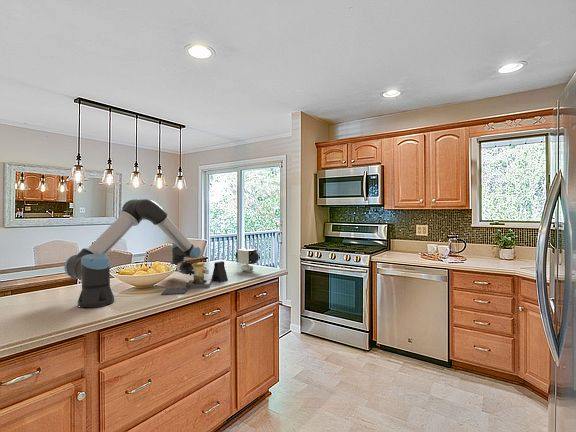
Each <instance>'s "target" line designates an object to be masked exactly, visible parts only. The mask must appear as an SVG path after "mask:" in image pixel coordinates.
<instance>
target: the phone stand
mask: <svg viewBox="0 0 576 432" xmlns="http://www.w3.org/2000/svg"><path fill="white" fill-rule="evenodd" d="M213 265H214V267H213V272H212V275H211V279H212V282H217V283H223V282H227V281H229V278H228V274H227V271H226V267H225V261H224V260H223V261H216V262H214V264H213Z"/></svg>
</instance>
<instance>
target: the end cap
mask: <svg viewBox="0 0 576 432" xmlns="http://www.w3.org/2000/svg"><path fill="white" fill-rule="evenodd" d="M192 265H193V270H196V271H198V276H196V275H193V280H194V284H195V283H204V279H205V273H204V267H205V262H203V261H200V262H193V263H192Z"/></svg>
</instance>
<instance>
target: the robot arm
mask: <svg viewBox="0 0 576 432" xmlns="http://www.w3.org/2000/svg"><path fill="white" fill-rule="evenodd" d="M144 220H146V221H149V222H151V223H152V224H153V225H154V226H158V228H159V229H160V230H161V231H162V233H164V234H165V235H166V236H167V237H168V238H169V239H170V240H171V241H172V242H173V243H172V247H171V253H172V260H171V261H170V263H169V265H170V264H175V265H177V268H176V270H175V271H174V272H177V273H181V274H183V275H189V276H194V275H196V276H198V271H196V270H193V263H191V262H188V261H185V258H187V259H197V258H199V257H200V255H201V252H202V251H201V248H200V247H199V246H195V245H194V244H193V243H192V242H191V241H190V240H189V239H188V238H187V236H185V235H184V233H183V232H182V231H181V230H180V229H179V227H177V226H176V224H175V223H174V222H173V221H172V220H171V219H170V218H169V217H168V212H166V211H165V210H164V208H163V207H161V205H159V204H158V203H157V202H156V201H153V200H152V199H148V198H144V199H141V198H140V199H137V198H136V199H131V200H128V201H126V202H125V203H123V205H122V207H121V210H120V212H119V217H117V218H116V220H115V221H114V222H113V223H112V224H111V225H109V226H108V227H107V228H106V229H105V231H104V232H102V233H101V234H100V236H99V237H97V239H96V240H94V242H93V243H92V244H90V246H88V247H85V248H82V249H81V250H80V251H79V252H78V253H77V254H73V255H71V256H70V257H68V258H67V259H66V260H65V262H64V264H63V265H64V271H65V274H66V275H67V276H68V277H70V278H72V279H75V280H79V281H80V280H81V291H80V293H79V296H78V300H77V307H78V306H80V307H95V308H99V307H98V306H102V307H104V306H103V305H106V306H108V305H107V304H109V305H111V304H110V303H112V304H113V303H114V302H115V296H114V293H113V290H112V287H111V268H110V267H111V261H110V258H109V256H108V255H107V254H108V253H109V252H110V251H111V249H113V247H115V245H117V243H119V242H120V240H121V239H122V238H123V237H124V236H125V235H126V234H127V232H128V231H130V230H131V228H132V227H136V226H138V225H139V224H140V223H141V222H142V221H144ZM204 275H210V273H209V269H208V268H207V267H205V266H204ZM80 307H79V308H80Z"/></svg>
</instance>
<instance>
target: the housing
mask: <svg viewBox="0 0 576 432" xmlns="http://www.w3.org/2000/svg"><path fill="white" fill-rule="evenodd" d="M212 282H213V281H212V278H206V279H205V278H204V283H195V284H194V279H190V280H188V281H187V283H186V284H185V287H189V289H203V288H204V289H207V288H210V287H211V284H212Z"/></svg>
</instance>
